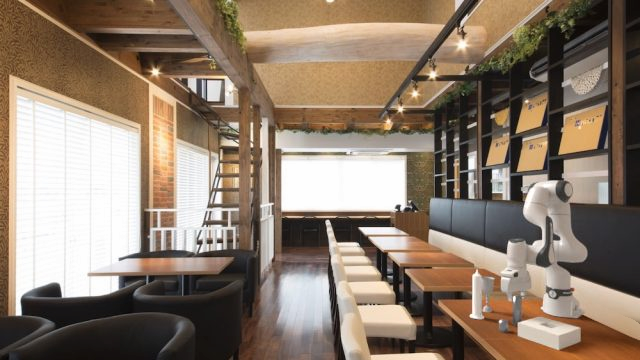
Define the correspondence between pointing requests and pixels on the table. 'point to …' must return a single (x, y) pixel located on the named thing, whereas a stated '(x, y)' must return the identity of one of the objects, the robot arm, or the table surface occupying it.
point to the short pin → (503, 325)
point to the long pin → (517, 309)
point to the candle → (477, 296)
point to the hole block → (549, 332)
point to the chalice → (487, 290)
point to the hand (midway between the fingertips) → (516, 300)
